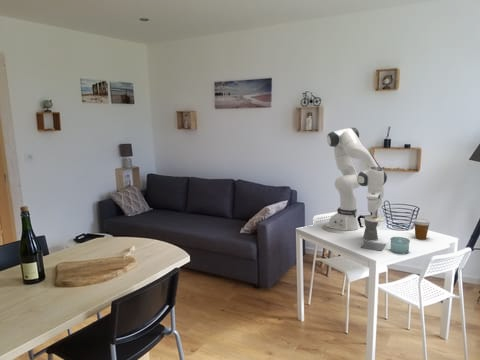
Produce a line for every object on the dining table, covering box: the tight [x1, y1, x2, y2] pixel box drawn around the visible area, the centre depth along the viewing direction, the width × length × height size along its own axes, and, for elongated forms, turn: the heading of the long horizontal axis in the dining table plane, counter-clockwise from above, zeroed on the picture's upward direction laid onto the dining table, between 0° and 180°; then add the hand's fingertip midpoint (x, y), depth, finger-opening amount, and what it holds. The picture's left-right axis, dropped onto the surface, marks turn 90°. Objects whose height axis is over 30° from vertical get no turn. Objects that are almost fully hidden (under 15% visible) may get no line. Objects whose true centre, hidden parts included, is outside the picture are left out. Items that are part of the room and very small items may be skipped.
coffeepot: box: [356, 212, 379, 241], centre depth 233 cm, size 15×9×18 cm, turn 80°
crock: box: [389, 236, 411, 255], centre depth 211 cm, size 11×11×7 cm
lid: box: [365, 211, 386, 223], centre depth 216 cm, size 12×12×5 cm
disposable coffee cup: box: [413, 218, 431, 241], centre depth 232 cm, size 10×10×12 cm
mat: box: [360, 240, 386, 252], centre depth 220 cm, size 12×12×1 cm
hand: (374, 216), depth 216 cm, fingers closed on lid, 3 cm apart
